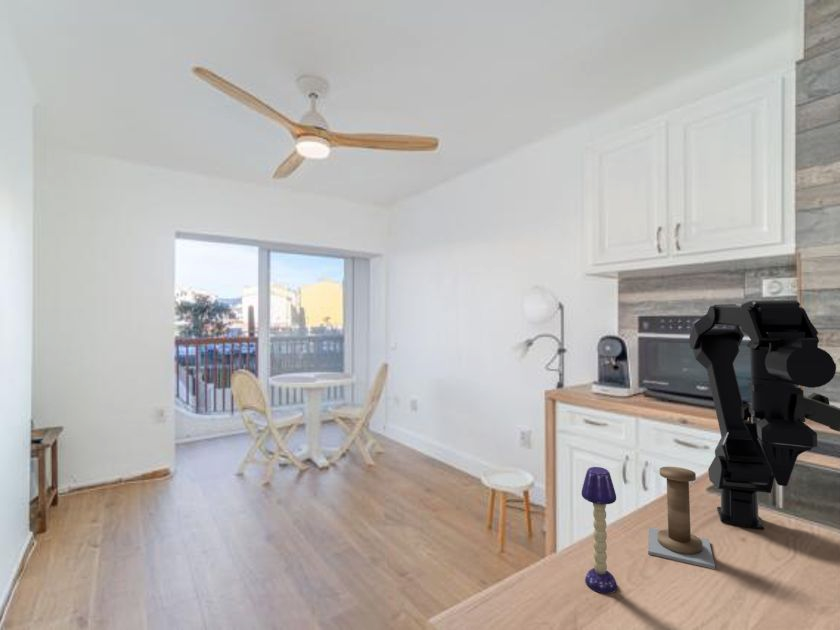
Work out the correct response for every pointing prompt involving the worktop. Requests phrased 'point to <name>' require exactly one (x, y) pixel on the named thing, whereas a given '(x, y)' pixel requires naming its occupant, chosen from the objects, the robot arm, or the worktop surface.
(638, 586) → the worktop surface
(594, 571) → the toy lamp
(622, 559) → the worktop surface
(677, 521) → the walnut stool
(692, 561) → the grey mat
